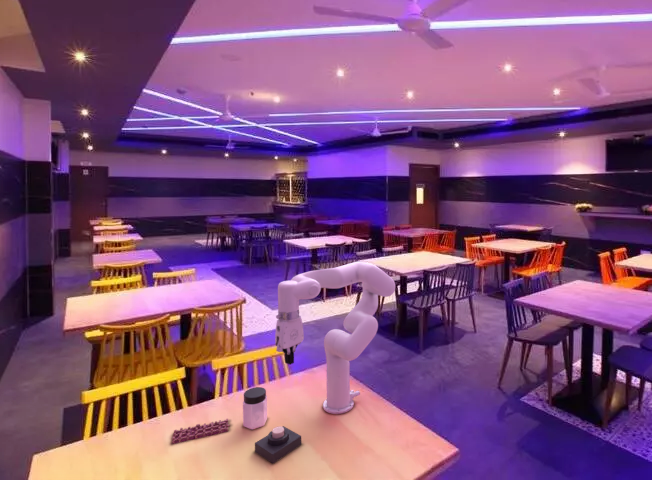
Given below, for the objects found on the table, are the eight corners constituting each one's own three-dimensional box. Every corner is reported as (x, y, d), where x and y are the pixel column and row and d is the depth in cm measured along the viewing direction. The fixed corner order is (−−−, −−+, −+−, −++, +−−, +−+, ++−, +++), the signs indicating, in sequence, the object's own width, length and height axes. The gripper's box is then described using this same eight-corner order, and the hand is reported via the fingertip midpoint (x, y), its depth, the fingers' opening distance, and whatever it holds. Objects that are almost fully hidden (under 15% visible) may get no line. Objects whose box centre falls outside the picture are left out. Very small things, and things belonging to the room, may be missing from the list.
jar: (245, 432, 148) (245, 400, 147) (240, 421, 154) (240, 391, 154) (270, 424, 152) (269, 393, 152) (264, 414, 159) (263, 384, 159)
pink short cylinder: (279, 430, 141) (279, 424, 141) (286, 434, 139) (286, 428, 139) (269, 436, 138) (269, 430, 138) (277, 440, 135) (277, 434, 135)
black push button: (283, 434, 146) (283, 421, 146) (301, 444, 140) (301, 430, 140) (254, 452, 137) (254, 437, 136) (273, 463, 131) (272, 449, 130)
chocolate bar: (230, 431, 148) (230, 426, 148) (172, 444, 141) (172, 439, 141) (230, 421, 155) (229, 416, 155) (174, 433, 148) (174, 428, 148)
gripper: (278, 322, 140) (279, 373, 141) (310, 311, 152) (311, 358, 153) (265, 318, 144) (266, 367, 145) (297, 307, 156) (298, 353, 157)
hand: (289, 362), depth 149 cm, fingers closed
